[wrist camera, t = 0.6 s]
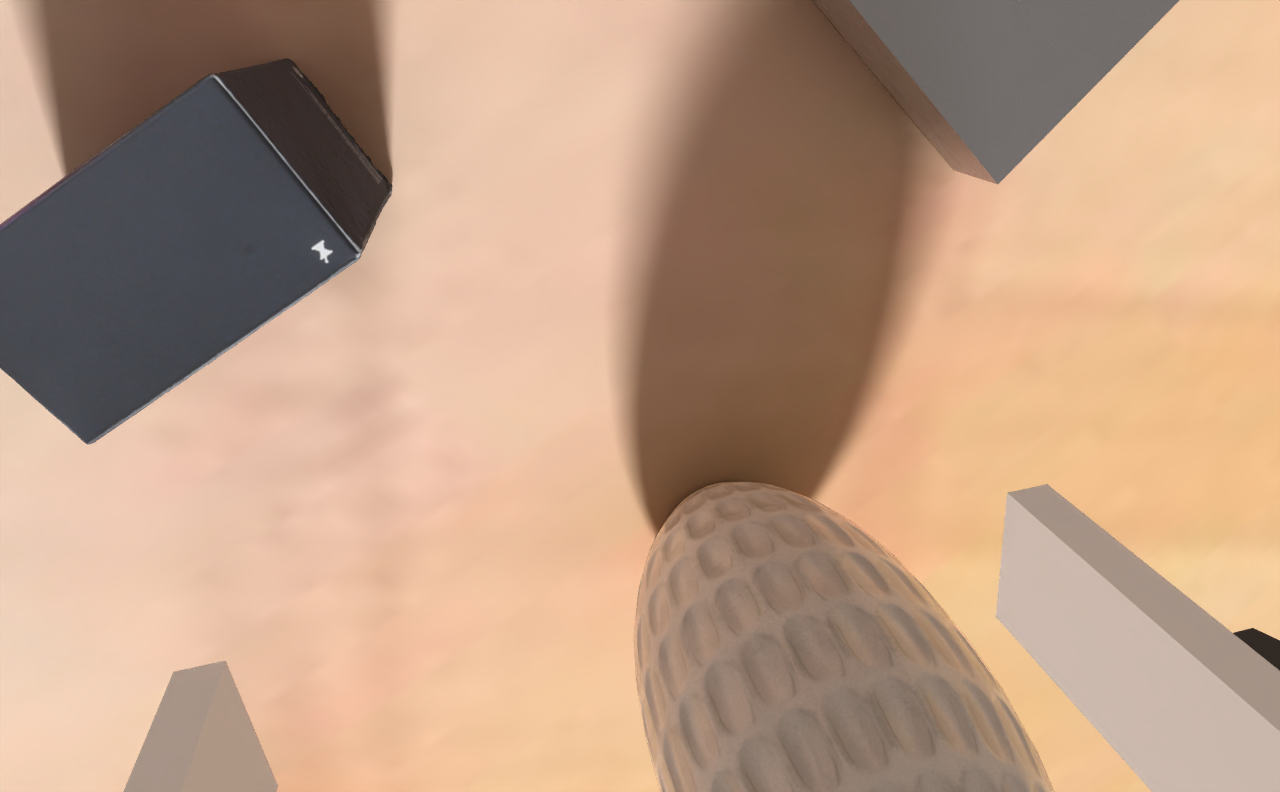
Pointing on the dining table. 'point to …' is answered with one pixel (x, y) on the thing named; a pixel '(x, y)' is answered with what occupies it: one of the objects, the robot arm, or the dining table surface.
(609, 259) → the dining table surface
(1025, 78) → the grey slotted plate
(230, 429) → the dining table surface
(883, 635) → the vase
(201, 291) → the small box
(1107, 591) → the robot arm
